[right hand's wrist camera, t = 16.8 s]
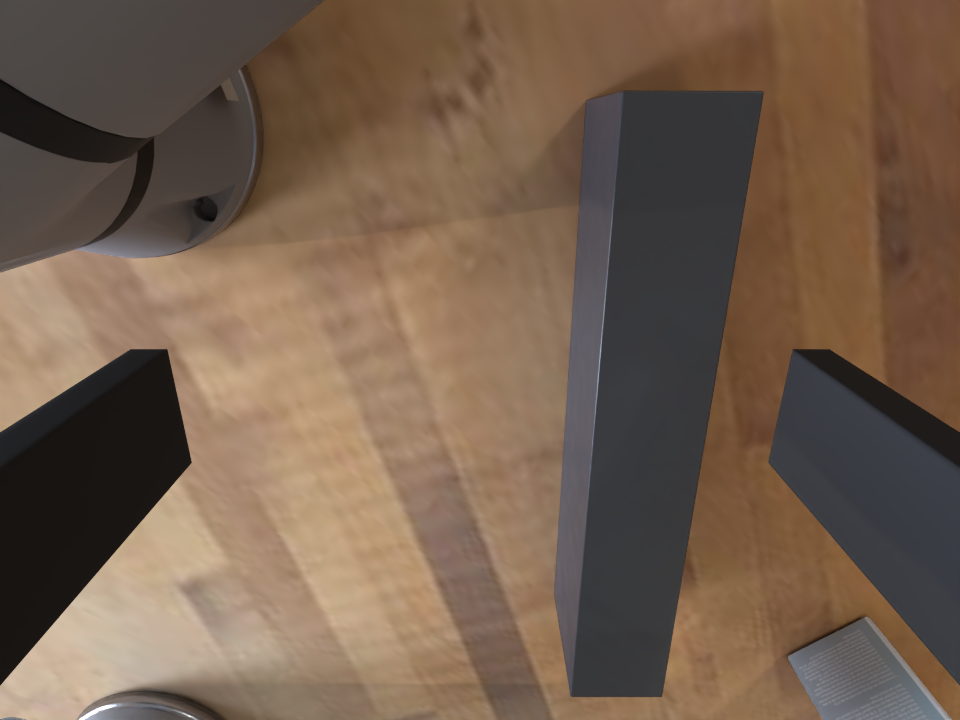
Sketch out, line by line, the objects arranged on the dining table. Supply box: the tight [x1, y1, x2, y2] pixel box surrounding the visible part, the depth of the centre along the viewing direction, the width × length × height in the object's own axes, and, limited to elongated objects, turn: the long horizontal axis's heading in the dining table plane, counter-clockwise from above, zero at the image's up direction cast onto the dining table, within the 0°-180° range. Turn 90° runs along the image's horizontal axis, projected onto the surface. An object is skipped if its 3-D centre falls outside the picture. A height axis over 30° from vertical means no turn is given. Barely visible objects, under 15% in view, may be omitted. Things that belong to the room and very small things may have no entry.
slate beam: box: [554, 91, 764, 697], centre depth 35 cm, size 6×36×9 cm, turn 0°
